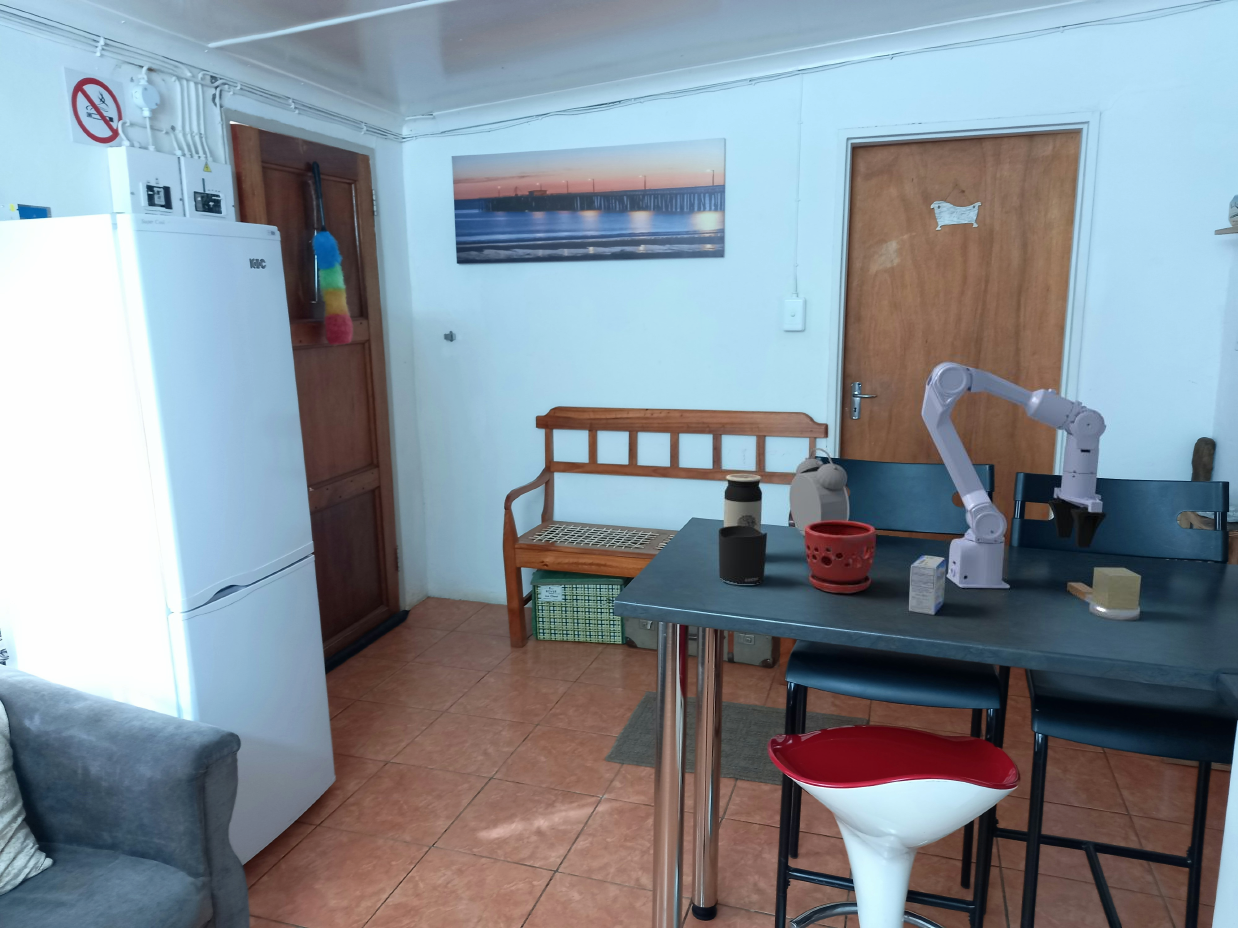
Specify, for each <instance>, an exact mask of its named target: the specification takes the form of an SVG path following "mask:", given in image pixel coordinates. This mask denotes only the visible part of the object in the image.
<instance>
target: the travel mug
mask: <svg viewBox="0 0 1238 928" xmlns="http://www.w3.org/2000/svg"><path fill="white" fill-rule="evenodd" d="M725 478H726V481H727V486H726V488H725V490H724V501H723V503H724V505H723V506H724V507H723V509H724V510H723V527H728V526H749V527H753V528H755V529H757V530H758V531H760V532H761V533H762V511H763V510H762V509H763V502H762V501H763V491H762V489H761V487H760V482H761V480H762V476H760V475H756V474H751V473H749V474H748V473H733V474H728V475H726V476H725Z"/></svg>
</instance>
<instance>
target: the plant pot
mask: <svg viewBox="0 0 1238 928" xmlns="http://www.w3.org/2000/svg"><path fill="white" fill-rule="evenodd" d="M876 538H877V537H876V529H875V527H874V526H872V525H870V524H866V523H864V522H860V521H859V522H858V521H850V520H848V521H835V520H833V521H821V522H815V523H812V524H809V525H807V526H806V527H805V536H804V547H805V555H806V556H805V557H806V560H807V563H808V566H809V568H810V569H809V570H810V571H811V572H810V573H809V575H808V580H809V582H810V584H812V586H814V587H815V588H817V589H819V590H821V591H824V592H828V593H835V594H848V595H851V594H852V593H853V594H854V593H860V592H862V591H864V590H866V589H867V588H868V587H869V586H870V585H871V583H872V579H871V577H870V575H868V574H869V572H870V570H871V568H872V565H873V563H874V559H875V553H876V541H877V539H876ZM862 553H863V554H862Z"/></svg>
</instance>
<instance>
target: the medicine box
mask: <svg viewBox="0 0 1238 928" xmlns="http://www.w3.org/2000/svg"><path fill="white" fill-rule="evenodd" d="M946 564H947V558H945V557H940V556H933V555H921V556H920V557H919V558H918V559H917V560H916V561H914V562H913V563H912V564H911V566H910V573H909V574H910V576H909V596H908V597H909V599H908V600H909V601H908V611H909V612H912V613H917V614H923V615H931V616H935V614H936V613H937V612H938V611H939V609H940V608H941V607H942V605H944V601H945V585H946V582H945V581H946V569H947V567H946V566H947V565H946Z"/></svg>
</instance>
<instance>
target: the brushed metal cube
mask: <svg viewBox="0 0 1238 928" xmlns="http://www.w3.org/2000/svg"><path fill="white" fill-rule="evenodd" d="M1092 578H1093V579H1092V601H1094V602H1095V603H1097V604H1099V605H1100V606H1102V607H1104V608H1105V609H1113V610H1138V606H1139V601H1140V591H1141V590H1140V589H1141V579H1142V575H1140V574H1138V573H1136V572H1134V571H1132V570H1129V569H1127V568H1125V567H1093V577H1092Z"/></svg>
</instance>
